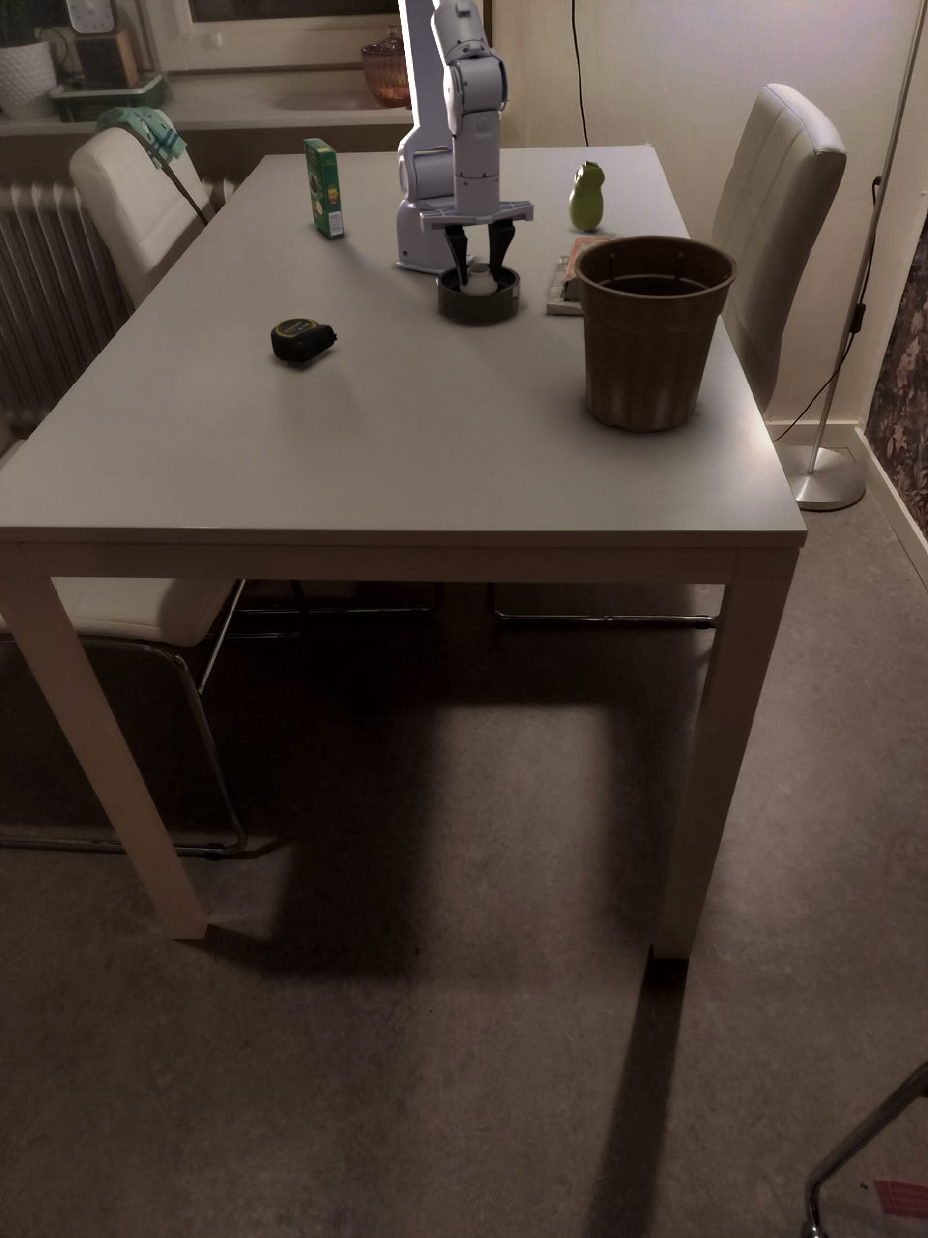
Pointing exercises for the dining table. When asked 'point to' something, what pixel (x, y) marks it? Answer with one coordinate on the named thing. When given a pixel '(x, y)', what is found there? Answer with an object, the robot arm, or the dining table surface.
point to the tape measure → (301, 339)
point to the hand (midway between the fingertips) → (478, 280)
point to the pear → (587, 197)
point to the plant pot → (649, 326)
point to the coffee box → (324, 187)
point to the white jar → (479, 280)
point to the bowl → (478, 297)
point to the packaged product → (569, 280)
